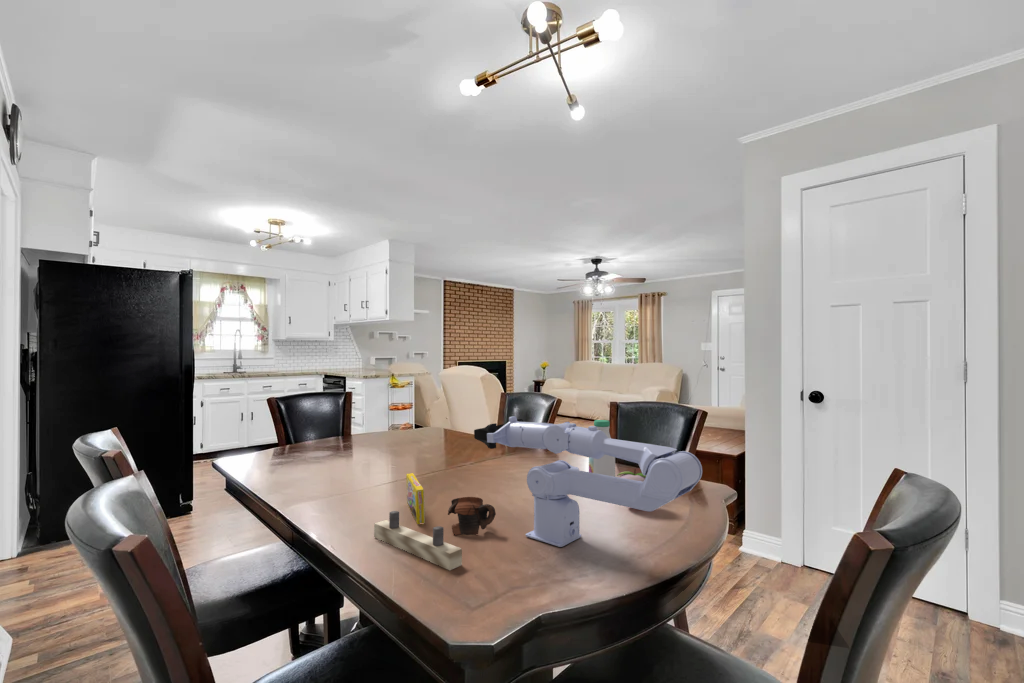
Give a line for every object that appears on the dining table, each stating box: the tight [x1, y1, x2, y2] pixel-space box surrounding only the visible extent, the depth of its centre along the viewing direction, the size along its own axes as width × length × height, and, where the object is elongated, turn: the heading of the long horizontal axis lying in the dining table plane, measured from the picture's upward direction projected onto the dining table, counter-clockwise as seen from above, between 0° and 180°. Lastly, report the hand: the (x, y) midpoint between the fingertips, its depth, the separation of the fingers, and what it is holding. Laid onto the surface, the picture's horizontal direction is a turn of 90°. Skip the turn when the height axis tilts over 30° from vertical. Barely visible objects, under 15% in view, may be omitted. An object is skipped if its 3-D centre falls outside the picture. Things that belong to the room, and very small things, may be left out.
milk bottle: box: [588, 419, 616, 477], centre depth 142 cm, size 8×8×20 cm
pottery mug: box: [447, 496, 497, 536], centre depth 108 cm, size 12×10×8 cm
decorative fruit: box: [616, 468, 646, 482], centre depth 123 cm, size 9×8×10 cm
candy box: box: [406, 472, 426, 525], centre depth 118 cm, size 16×2×8 cm, turn 21°
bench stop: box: [373, 510, 463, 571], centre depth 96 cm, size 24×3×6 cm, turn 49°
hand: (486, 431), depth 117 cm, fingers open, 7 cm apart
